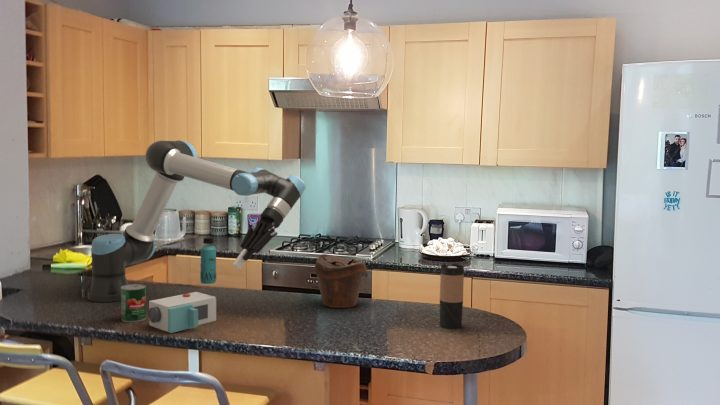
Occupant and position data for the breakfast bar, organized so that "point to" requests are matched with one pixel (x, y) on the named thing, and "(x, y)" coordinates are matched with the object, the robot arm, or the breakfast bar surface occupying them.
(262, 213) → the robot arm
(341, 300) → the brown tapered cylinder
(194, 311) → the door
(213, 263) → the beverage bottle
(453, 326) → the travel mug
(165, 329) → the block
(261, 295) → the breakfast bar surface
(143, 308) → the canned tomato
